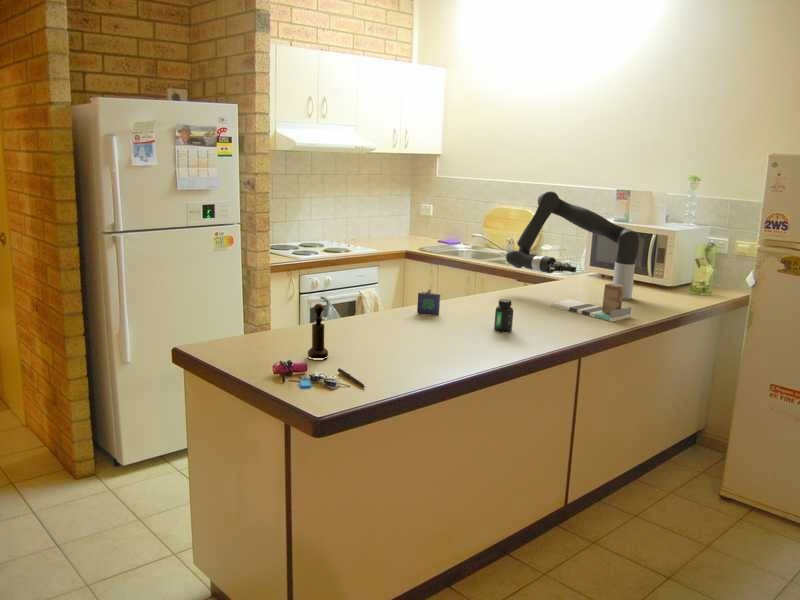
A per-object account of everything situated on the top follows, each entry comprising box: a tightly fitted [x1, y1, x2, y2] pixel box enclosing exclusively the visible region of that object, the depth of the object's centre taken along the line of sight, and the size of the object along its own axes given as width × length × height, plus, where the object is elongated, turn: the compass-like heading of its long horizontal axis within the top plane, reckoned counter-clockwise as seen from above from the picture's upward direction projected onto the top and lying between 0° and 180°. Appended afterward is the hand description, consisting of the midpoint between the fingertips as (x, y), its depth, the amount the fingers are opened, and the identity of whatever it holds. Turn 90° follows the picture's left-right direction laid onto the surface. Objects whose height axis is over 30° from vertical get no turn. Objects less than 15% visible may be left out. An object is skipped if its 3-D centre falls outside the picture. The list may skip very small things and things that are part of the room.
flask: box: [416, 288, 441, 316], centre depth 285 cm, size 9×3×11 cm, turn 87°
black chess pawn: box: [307, 303, 329, 358], centre depth 221 cm, size 7×6×18 cm
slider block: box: [601, 282, 624, 314], centre depth 294 cm, size 5×6×12 cm
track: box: [550, 299, 632, 322], centre depth 304 cm, size 14×32×4 cm, turn 41°
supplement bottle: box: [493, 298, 514, 333], centre depth 265 cm, size 7×7×12 cm
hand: (575, 269), depth 307 cm, fingers closed
